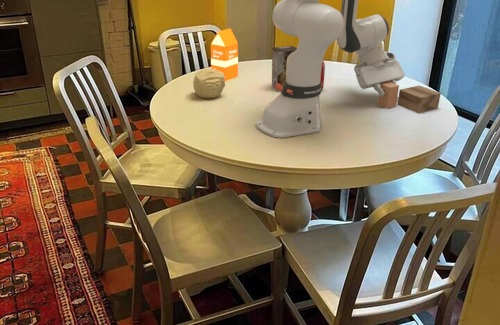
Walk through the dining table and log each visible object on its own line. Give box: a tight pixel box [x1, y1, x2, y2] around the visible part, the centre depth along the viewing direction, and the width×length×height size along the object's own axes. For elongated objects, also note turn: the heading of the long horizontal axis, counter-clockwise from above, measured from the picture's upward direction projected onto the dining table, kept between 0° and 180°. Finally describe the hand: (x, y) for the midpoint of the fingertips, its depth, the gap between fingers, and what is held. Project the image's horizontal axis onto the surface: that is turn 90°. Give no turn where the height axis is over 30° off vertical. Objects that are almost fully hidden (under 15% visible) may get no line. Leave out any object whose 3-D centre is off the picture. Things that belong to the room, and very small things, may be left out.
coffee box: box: [271, 45, 297, 92], centre depth 190 cm, size 9×6×16 cm
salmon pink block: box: [377, 82, 400, 110], centre depth 174 cm, size 5×5×8 cm
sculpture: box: [192, 68, 226, 99], centre depth 182 cm, size 12×12×11 cm
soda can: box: [320, 59, 326, 91], centre depth 189 cm, size 7×7×12 cm
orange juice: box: [210, 28, 239, 82], centre depth 201 cm, size 8×9×20 cm
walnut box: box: [396, 85, 442, 114], centre depth 175 cm, size 10×10×6 cm
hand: (389, 94), depth 174 cm, fingers closed on salmon pink block, 5 cm apart
